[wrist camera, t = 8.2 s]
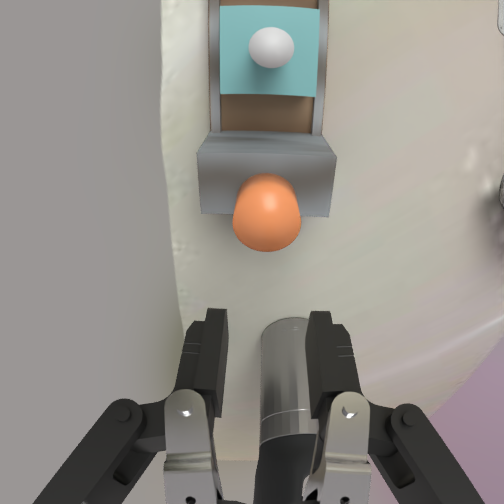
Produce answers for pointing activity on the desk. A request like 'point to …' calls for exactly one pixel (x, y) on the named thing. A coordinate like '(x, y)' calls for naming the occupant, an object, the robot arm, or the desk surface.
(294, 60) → the carriage
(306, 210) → the rail
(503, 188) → the coffee mug
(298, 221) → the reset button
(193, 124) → the desk surface
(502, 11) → the emergency button
